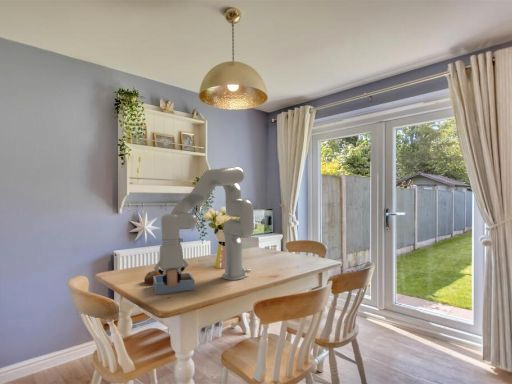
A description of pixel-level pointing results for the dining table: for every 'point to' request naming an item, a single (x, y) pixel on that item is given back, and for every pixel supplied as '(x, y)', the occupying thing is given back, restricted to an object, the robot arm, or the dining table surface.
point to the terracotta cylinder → (172, 277)
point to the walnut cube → (184, 277)
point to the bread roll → (151, 277)
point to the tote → (181, 287)
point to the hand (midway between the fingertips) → (172, 282)
